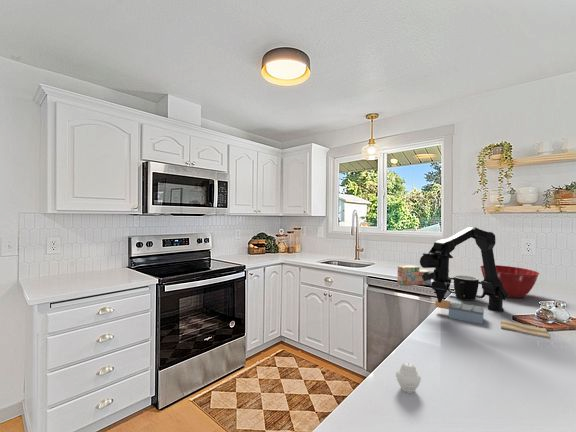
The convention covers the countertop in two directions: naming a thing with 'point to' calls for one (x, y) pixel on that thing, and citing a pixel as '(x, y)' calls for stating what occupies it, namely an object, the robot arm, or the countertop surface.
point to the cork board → (524, 328)
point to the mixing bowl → (515, 280)
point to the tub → (466, 316)
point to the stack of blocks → (411, 276)
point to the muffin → (408, 377)
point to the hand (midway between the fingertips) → (441, 300)
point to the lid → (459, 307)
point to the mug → (466, 287)
